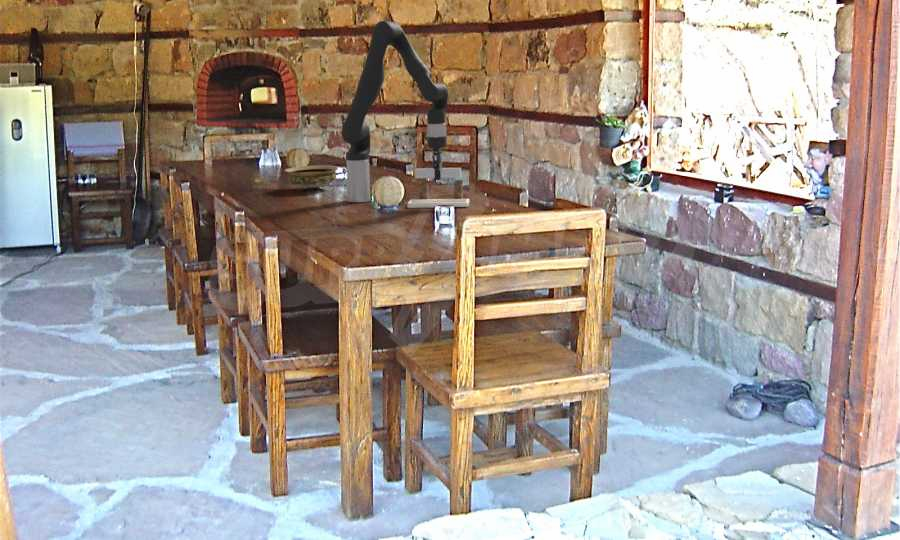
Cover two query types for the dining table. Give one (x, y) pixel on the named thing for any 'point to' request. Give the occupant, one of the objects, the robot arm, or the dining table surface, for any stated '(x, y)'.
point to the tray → (437, 203)
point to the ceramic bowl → (312, 176)
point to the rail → (443, 173)
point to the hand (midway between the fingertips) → (438, 178)
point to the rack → (425, 189)
